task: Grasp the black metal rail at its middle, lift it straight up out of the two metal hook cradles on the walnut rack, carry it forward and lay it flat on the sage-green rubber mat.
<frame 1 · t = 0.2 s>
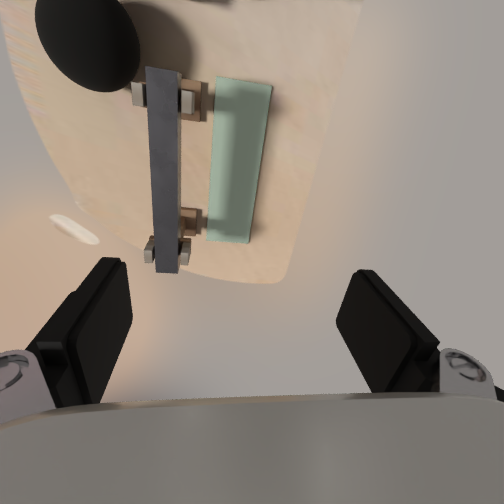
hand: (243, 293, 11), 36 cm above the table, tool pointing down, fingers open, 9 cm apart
rack: (179, 166, 42), on the table
decorative ball: (109, 48, 34), on the table
rail: (169, 183, 33), point 10 cm above the table, touching rack
mat: (234, 172, 43), on the table
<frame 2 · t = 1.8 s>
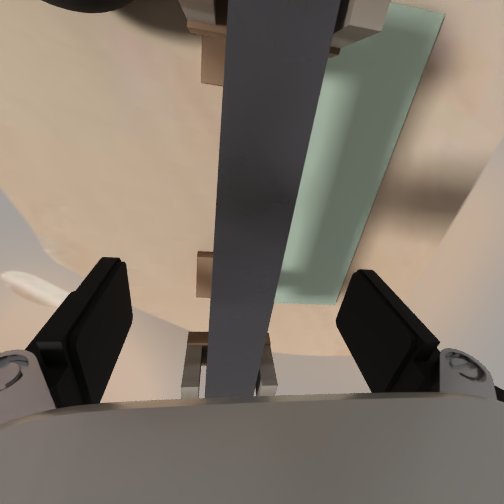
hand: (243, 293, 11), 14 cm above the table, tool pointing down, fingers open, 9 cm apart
rack: (234, 184, 22), on the table
rail: (242, 237, 14), point 10 cm above the table, touching rack
mat: (332, 193, 24), on the table
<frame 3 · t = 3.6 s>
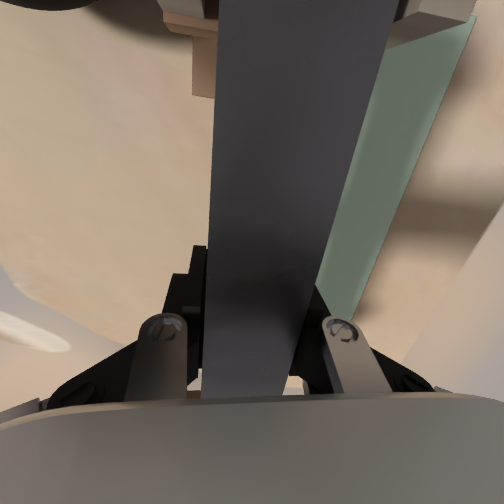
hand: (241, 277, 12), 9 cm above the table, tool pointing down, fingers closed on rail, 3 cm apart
rack: (232, 208, 19), on the table
rail: (243, 291, 11), point 10 cm above the table, touching gripper, rack
mat: (343, 217, 21), on the table
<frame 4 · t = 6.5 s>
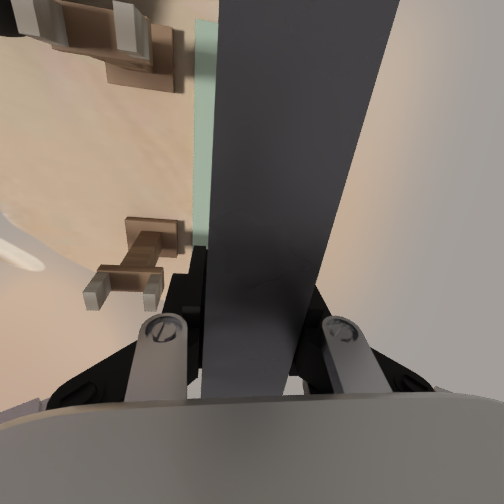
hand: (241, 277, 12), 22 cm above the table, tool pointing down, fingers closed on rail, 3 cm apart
rack: (148, 161, 29), on the table
rail: (243, 292, 11), point 23 cm above the table, touching gripper
mat: (228, 169, 31), on the table
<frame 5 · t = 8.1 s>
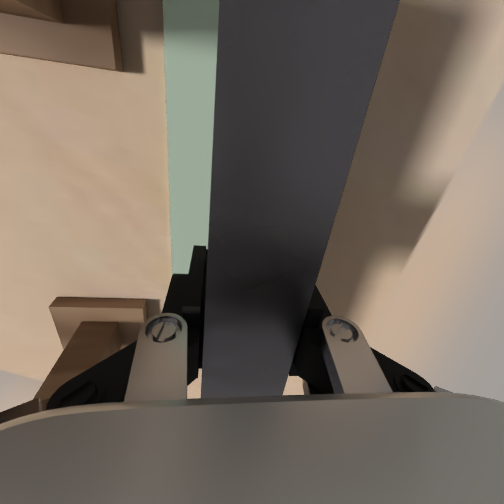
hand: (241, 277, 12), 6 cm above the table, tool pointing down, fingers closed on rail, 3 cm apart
rack: (83, 206, 15), on the table
rail: (243, 292, 11), point 7 cm above the table, touching gripper
mat: (235, 218, 17), on the table
when the fingers open (1 cm above the table, at t = 9.4 s): rail drops 2 cm, resting on mat.
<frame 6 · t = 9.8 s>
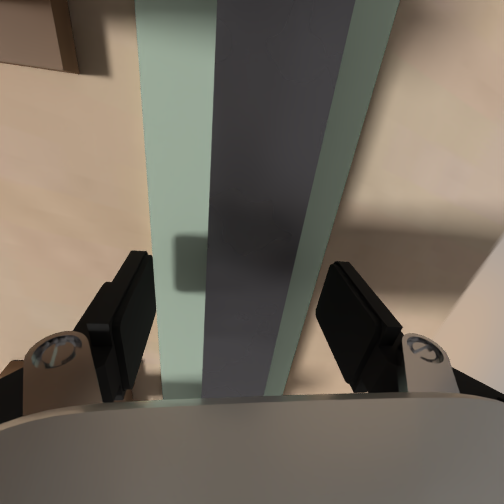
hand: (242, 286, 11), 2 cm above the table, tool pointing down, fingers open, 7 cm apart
rack: (36, 254, 11), on the table
rail: (239, 268, 12), resting on mat
mat: (239, 263, 13), on the table
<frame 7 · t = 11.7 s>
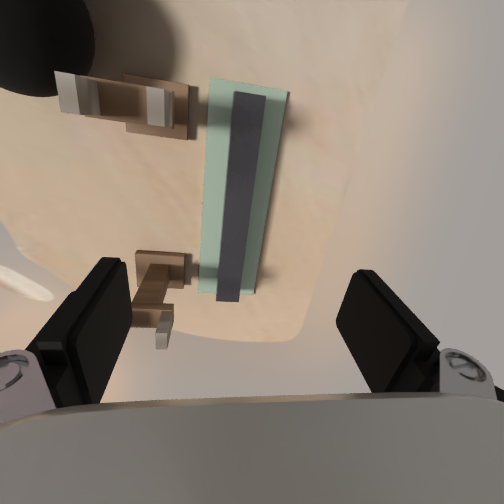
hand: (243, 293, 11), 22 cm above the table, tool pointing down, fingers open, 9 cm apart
rack: (160, 199, 31), on the table
decorative ball: (54, 37, 23), on the table
rail: (235, 208, 32), resting on mat
mat: (235, 206, 32), on the table
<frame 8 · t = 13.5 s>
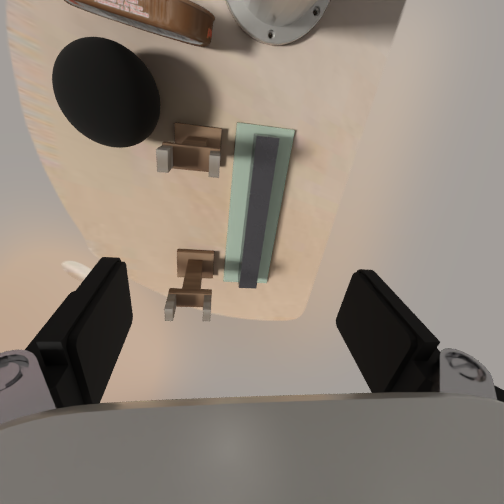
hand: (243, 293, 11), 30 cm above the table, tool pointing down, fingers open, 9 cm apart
tin: (146, 20, 29), on the table
rack: (197, 210, 40), on the table
decorative ball: (126, 98, 32), on the table
rail: (254, 216, 41), resting on mat
mat: (254, 215, 42), on the table
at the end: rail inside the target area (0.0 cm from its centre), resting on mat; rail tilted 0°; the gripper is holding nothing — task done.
